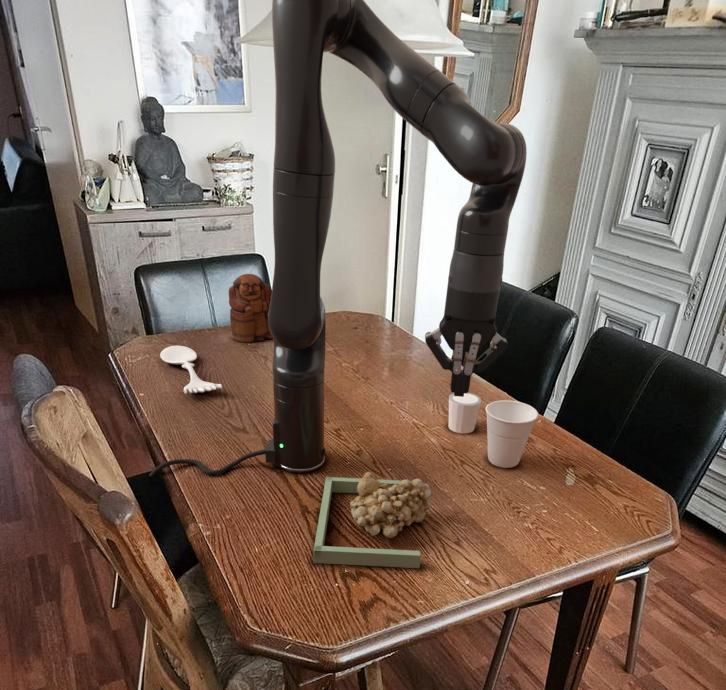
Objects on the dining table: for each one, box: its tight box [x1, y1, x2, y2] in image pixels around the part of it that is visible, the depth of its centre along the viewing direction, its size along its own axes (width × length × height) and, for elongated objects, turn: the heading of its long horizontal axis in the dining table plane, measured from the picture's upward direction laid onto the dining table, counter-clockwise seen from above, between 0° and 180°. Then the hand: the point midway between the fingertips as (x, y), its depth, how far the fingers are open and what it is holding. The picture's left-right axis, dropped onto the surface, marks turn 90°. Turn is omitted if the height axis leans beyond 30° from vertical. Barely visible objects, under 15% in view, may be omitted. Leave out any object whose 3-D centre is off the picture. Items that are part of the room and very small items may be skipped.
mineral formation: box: [349, 471, 433, 539], centre depth 103 cm, size 8×13×15 cm
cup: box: [485, 399, 539, 469], centre depth 122 cm, size 10×10×11 cm
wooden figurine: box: [228, 273, 274, 343], centre depth 176 cm, size 12×6×18 cm, turn 115°
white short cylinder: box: [447, 392, 482, 435], centre depth 135 cm, size 7×7×7 cm
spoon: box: [159, 345, 223, 395], centre depth 155 cm, size 9×32×4 cm, turn 26°
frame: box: [313, 476, 422, 569], centre depth 104 cm, size 16×21×2 cm
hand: (458, 394), depth 99 cm, fingers closed
